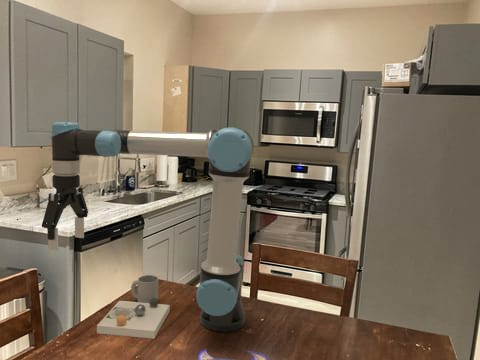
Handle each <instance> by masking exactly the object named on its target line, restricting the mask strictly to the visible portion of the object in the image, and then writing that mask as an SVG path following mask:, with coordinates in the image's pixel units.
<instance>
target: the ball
mask: <svg viewBox="0 0 480 360" xmlns="http://www.w3.org/2000/svg"><path fill="white" fill-rule="evenodd" d="M145 311H146V308H145V306H144V305H141V304H140V305H137V306H136V307H135V314H136V315H138V316H141V315H143V314H144V313H145Z"/></svg>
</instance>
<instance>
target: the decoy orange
mask: <svg viewBox="0 0 480 360" xmlns="http://www.w3.org/2000/svg"><path fill="white" fill-rule="evenodd" d="M126 321H127V318H126V316H124V315H120V316H118V317H117V323H118V324H119V325H124V324H125V323H126Z"/></svg>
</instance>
